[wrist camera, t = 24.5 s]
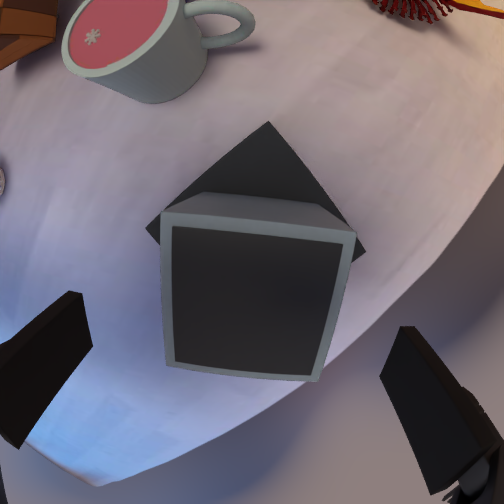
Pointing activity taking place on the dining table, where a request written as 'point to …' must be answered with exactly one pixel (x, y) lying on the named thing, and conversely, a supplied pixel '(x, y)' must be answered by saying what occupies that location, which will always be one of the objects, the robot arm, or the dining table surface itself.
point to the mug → (146, 44)
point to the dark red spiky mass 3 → (441, 8)
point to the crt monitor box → (251, 285)
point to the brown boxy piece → (25, 27)
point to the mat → (260, 177)
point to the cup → (2, 181)
